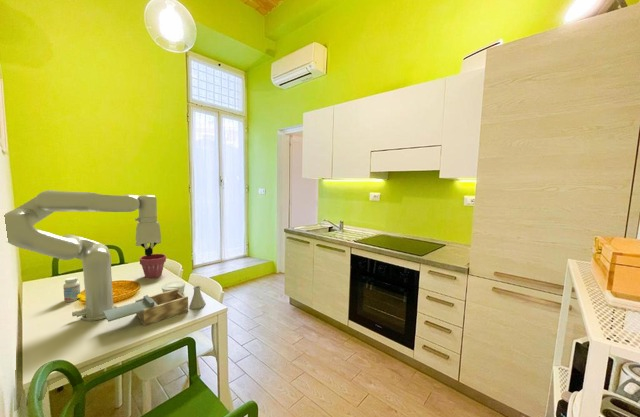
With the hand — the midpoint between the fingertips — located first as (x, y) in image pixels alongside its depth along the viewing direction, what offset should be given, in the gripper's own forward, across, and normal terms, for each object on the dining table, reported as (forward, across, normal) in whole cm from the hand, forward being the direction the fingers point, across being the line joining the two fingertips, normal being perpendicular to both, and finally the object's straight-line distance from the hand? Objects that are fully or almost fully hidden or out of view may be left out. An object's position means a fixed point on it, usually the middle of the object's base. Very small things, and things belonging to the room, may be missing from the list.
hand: (148, 255), depth 130 cm
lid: (+18, -10, -17) cm, 27 cm away
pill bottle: (+25, -28, +28) cm, 47 cm away
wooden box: (+24, +2, -16) cm, 29 cm away
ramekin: (+24, +12, +2) cm, 27 cm away
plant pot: (+24, +10, +40) cm, 48 cm away
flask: (+24, +17, -20) cm, 36 cm away
